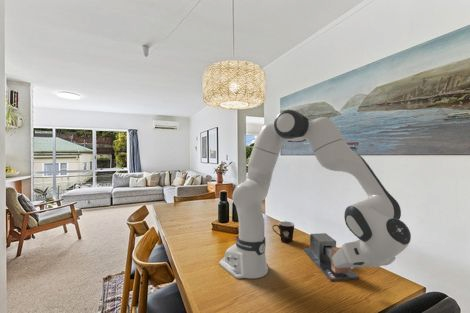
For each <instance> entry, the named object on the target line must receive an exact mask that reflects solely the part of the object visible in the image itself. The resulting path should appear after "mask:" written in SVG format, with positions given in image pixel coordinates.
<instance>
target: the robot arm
mask: <svg viewBox="0 0 470 313" xmlns="http://www.w3.org/2000/svg"><path fill="white" fill-rule="evenodd" d="M274 118H275V119H274V121H273V123H266V124H264V125H263V126H262V127H261V129H260V131H259V132H258V135H257V136H256V139H255V142H254V145H253V147H252V150H251V153H250V156H249V160H248V161H247V165H248V166H247V167H248V168H247V174H246V178H245V181H244V182H243V181H242V182H241V183H239V184H237V186H236V187H235V188H234V189H233V192H232V195H231V196H232V198H231V199H232V202H233V204H234V205H235V208H236V212H237V219H238V235H237V236H235V237H234V239H233V240H234V241H235V243H234V244H233V245H231V246H229V248H227V249H226V251H225V253H224V257H223V258H221V259H220V261H219V265H220V266H221V267H222V268H223V269H224V270H225V271H227V272H228V273H229V274H231V275H232V276H233V277H234V278H235V279H259V278H260V279H261V278H262V277H264V276H266V275H267V274H268V273H269V268H268V264H267V258H266V257H267V256H266V237H265V218H264V215H263V210H262V209H263V208H262V202H263V201H264V200H265V199H266V198H267V196H268V193H269V189H270V186H271V181H272V178H273V172H274V170H275V166H276V164H277V161H278V159H279V155H280V153H281V149H282V146H283V145H284V144H285V143H286V142H288V143H302V142H304V141H307V142H308V144H309V145H310V147H311V149H312V151H313V153H314V154H313V155H314V156H315V159H316V160H317V162H318V163H319V164H320V166H321V167H322V168H324V169H326V170H328V171H329V170H330V171H332V172H333V171H334V172H343V173H347V174H349V175H352V176H353V177H354V178H355V179H356V180H357V183H359V185H360V186H361V187H362V190H363V191H364V192H365V193H366V194H367V198H366V199H364V200H362V201H358V202H355V203H354V204H353V203H352V204H350V205H348V206H347V207H346V208H345V211H344V214H343V215H344V222H345V225H346V227H347V228H348V230H349V231H350V232H351V233H352V234H353V235H354V236H356V238H357V239H358V240H354V241H349V242H346V243H343V244H342V246H341V247H343V248H341V249H339V250H338V251H337V252H336V253H335V254H334V255H333V257H332V260H333V263H334V266H335V267H336V268H347V267H349V268H350V269H351V270H354V269H360V268H366V267H371V268H375V269H376V268H380V267H384V266H388V265H392V263H393V262H395V261H396V256H398V255H399V254H401V253H402V252H403V251H404V250H406V248H408V247H409V244H410V243H411V239H412V237H411V236H412V234H411V231H410V229H409V227H408V226H407V224H406V223H405V222H404V221H402V220H400V219H401V216H402V211H401V206H400V204H399V203H398V201H397V199H395V197H393V196H392V195H391V194H390V192H389V191H388V190H387V189H386V187H385V186H384V185H383V184H382V182H381V181H380V179H379V178H378V177H377V175H376V174H375V172H374V171H373V169H372V168H371V167H370V165H369V164H368V163H367V161H366V160H365V159H364V158H363V157H362V156H361V155H360V154H359V153H356V152H355V150H354V151H353V150H352V148H351V147H350V146H349V145H348V143H347V142H346V140H345V138H344V136H343V134H342V133H341V131H340V130H339V128H338V126H336V124H335V123H334V121H333V120H332V119H331V118H329V117H327V116H321V117H317V118H315V119H312V120H310V119H309V118H308V117H307V116H306V115H304V113H303V114H302V113H300V112H299V111H297V110H293V109H286V110H282V111H281V112H279V113H278V114H277V115H276V117H274Z"/></svg>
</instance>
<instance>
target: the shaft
mask: <svg viewBox="0 0 470 313" xmlns="http://www.w3.org/2000/svg"><path fill="white" fill-rule="evenodd" d="M341 248H343V247H342V246H341V247H340V246H339V247H336V248H332V247H331V246H324V253H325V254H326V255H327V256H328V257H329V258H330V261H331V269H332V270H333V271H334V272H335V273H343V272H349V268H350V267H347V268H336V267H335V266H334V263H333V260H332V257H333V255H334V254H335V253H336V252H337V251H338V250H339V249H341Z"/></svg>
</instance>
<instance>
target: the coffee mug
mask: <svg viewBox="0 0 470 313" xmlns="http://www.w3.org/2000/svg"><path fill="white" fill-rule="evenodd" d="M274 227H277V229H278V230H279V232H277V231H276V230H275V228H274ZM271 228H272V230H273V232H274V233H275V234H277V235H278V236H279V237H280V241H281V243H283V244H292V243H293V241H294V240H293V237H294V232H295V223H294V222H291V221H287V220H286V221H280V222H278V224H274V225H272V227H271Z"/></svg>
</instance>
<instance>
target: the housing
mask: <svg viewBox="0 0 470 313" xmlns="http://www.w3.org/2000/svg"><path fill="white" fill-rule="evenodd" d="M309 235H310V237H309V239H310V241H309V245H310V246H309V247H304V248H302V250H303V252H304V253H305V254H306V255H307V256H308V258H310V260H311V261H312V262H313V263H314V264H315V265H316V266H317V267H318V269H319V270H320V272H322V273H323V274H324V275H325V276H326V278H327V279H328V280H329V281H330V282H335V281H336V282H337V281H353V280H354V281H356V280H360V276H359V275H358V274H357V273H356V272H354V271H353V269H351V268H350V267H349V272H343V273H335V272H334V271H333V270H332V269H331V261H330V258H329V257H328V256H327V255H326V254H325V253H324V246H331V247H332V248H337V240H336V239H334V238H333V237H332V236H330V235H329V234H327V233H325V232H323V233H310V234H309Z"/></svg>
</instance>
